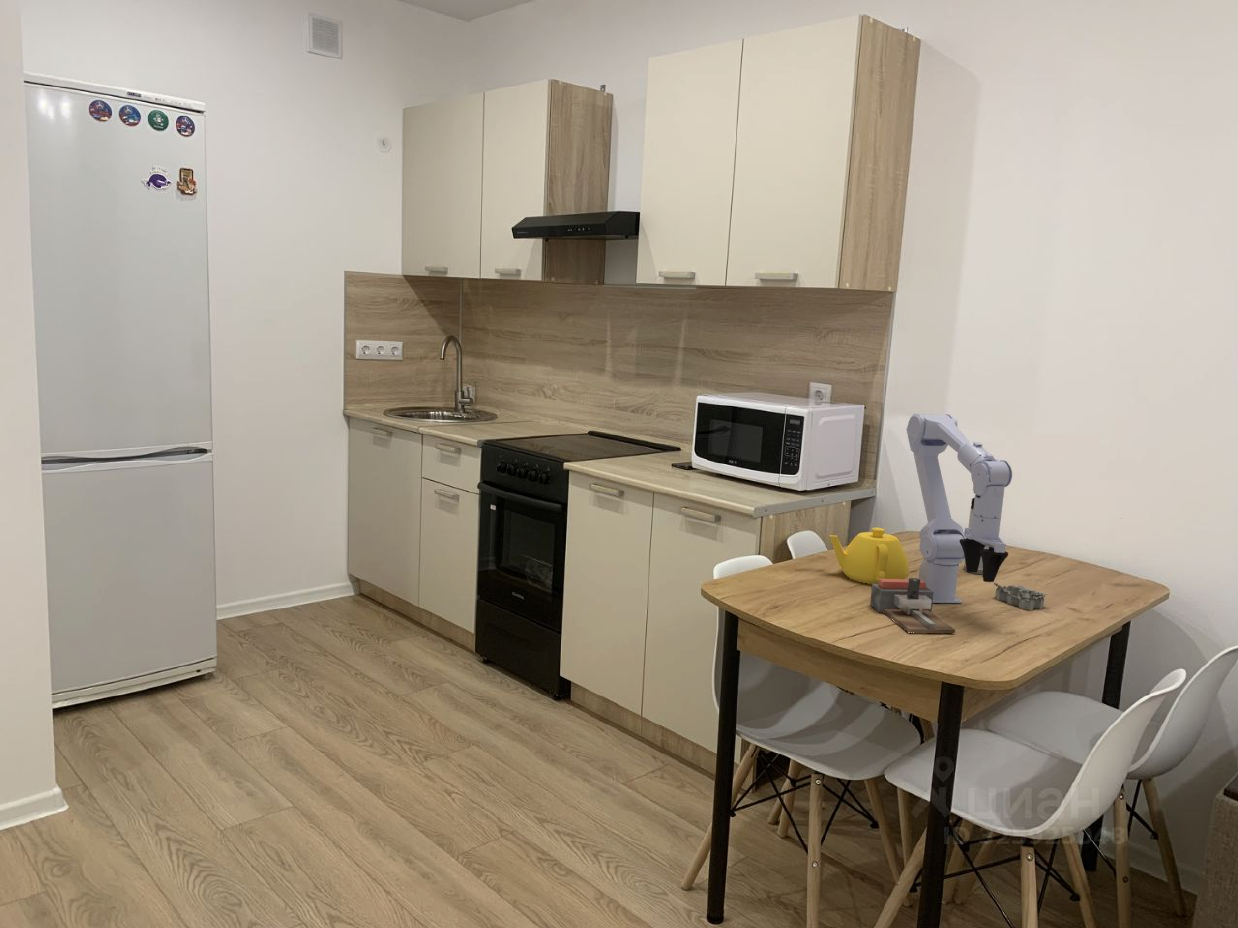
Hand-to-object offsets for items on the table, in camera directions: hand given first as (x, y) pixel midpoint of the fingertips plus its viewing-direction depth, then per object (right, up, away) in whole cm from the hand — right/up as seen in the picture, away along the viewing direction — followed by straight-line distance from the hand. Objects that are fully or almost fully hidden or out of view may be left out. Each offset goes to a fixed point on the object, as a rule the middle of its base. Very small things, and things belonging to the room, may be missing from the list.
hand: (979, 576), depth 206 cm
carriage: (-15, -8, -1) cm, 17 cm away
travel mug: (+15, -4, +42) cm, 45 cm away
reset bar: (-16, -3, +5) cm, 17 cm away
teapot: (-17, -4, +30) cm, 34 cm away
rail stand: (-15, -9, -2) cm, 18 cm away
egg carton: (+15, -8, +15) cm, 23 cm away
